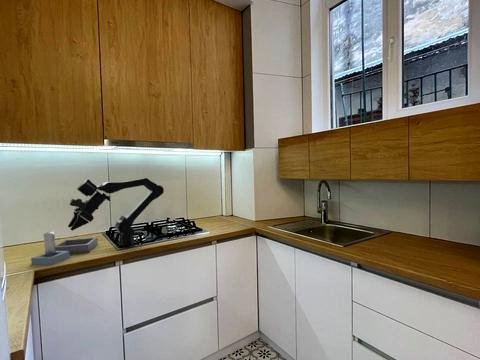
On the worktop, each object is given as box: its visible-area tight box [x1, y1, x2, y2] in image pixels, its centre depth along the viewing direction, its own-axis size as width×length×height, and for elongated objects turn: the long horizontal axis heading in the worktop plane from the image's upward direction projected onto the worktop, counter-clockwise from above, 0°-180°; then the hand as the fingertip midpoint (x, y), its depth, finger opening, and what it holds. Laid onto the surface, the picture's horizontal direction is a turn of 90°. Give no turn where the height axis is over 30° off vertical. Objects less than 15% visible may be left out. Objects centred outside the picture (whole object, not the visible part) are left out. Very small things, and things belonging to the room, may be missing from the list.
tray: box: [55, 236, 99, 255], centre depth 137 cm, size 16×14×4 cm
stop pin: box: [43, 231, 56, 257], centre depth 120 cm, size 4×4×13 cm
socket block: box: [30, 251, 71, 266], centre depth 121 cm, size 10×10×3 cm
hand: (69, 228), depth 125 cm, fingers open, 9 cm apart
